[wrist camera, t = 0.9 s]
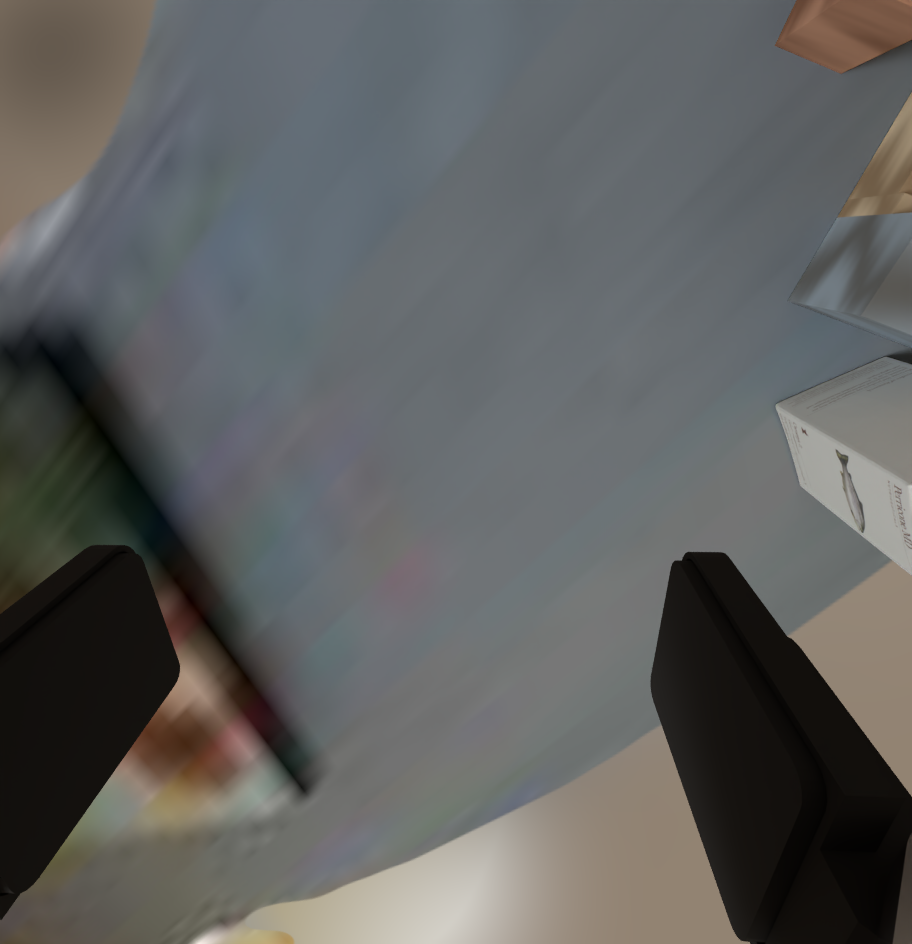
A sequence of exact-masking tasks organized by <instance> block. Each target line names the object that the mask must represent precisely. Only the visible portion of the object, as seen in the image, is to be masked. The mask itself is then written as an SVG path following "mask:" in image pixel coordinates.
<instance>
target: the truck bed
mask: <svg viewBox="0 0 912 944" xmlns="http://www.w3.org/2000/svg"><path fill="white" fill-rule="evenodd" d="M788 301H789V302H792V303H794V304H797V305H800V306H802V307H805V308H808V309H810V310H813V311H815V312H818V313H821V314H823V315H826V316H829V317H831V318H834V319H836V320H839V321H842V322H844V323H847V324H850V325H852V326H855V327H858V328H860V329H863V330H865V331H868V332H871V333H873V334H876V335H879V336H881V337H884V338H886V339H889V340H892V341H894V342H897V343H900V344H902V345H905V346H907V347H910V348H912V93H911V94H910V96H909V98H908V99H907V101H906V103H905V104H904V106H903V108H902V109H901V111H900V113H899V114H898V116H897V118H896V119H895V121H894V123H893V124H892V126H891V128H890V130H889V131H888V133H887V135H886V136H885V138H884V140H883V141H882V143H881V145H880V146H879V148H878V150H877V151H876V153H875V155H874V156H873V158H872V160H871V161H870V163H869V165H868V167H867V168H866V170H865V172H864V173H863V175H862V177H861V178H860V180H859V182H858V183H857V185H856V187H855V188H854V190H853V192H852V193H851V195H850V197H849V198H848V200H847V202H846V204H845V205H844V207H843V209H842V210H841V212H840V214H839V215H838V217H837V219H836V220H835V222H834V224H833V225H832V227H831V229H830V230H829V232H828V234H827V235H826V237H825V239H824V241H823V242H822V244H821V246H820V247H819V249H818V251H817V252H816V254H815V256H814V257H813V259H812V261H811V262H810V264H809V266H808V267H807V269H806V271H805V272H804V274H803V276H802V278H801V279H800V281H799V283H798V284H797V286H796V288H795V289H794V291H793V293H792V294H791V296H790V298H789V299H788Z"/></svg>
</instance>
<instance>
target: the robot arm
mask: <svg viewBox="0 0 912 944" xmlns="http://www.w3.org/2000/svg"><path fill="white" fill-rule="evenodd" d="M179 673H180V664H179V660H178V658H177V655H176V652H175V649H174V646H173V643H172V641H171V638H170V635H169V632H168V629H167V627H166V624H165V621H164V618H163V615H162V612H161V610H160V607H159V604H158V601H157V598H156V596H155V593H154V590H153V587H152V584H151V581H150V579H149V576H148V573H147V570H146V567H145V564H144V562H143V560H142V558H141V557H140V556H139V555H138V554H135V552H134V550H133V549H132V548H130V547H129V546H125V545H93V546H90V547H88V548H86V549H84V550H83V551H82V552H81V553H79V554H78V555H77V556H75V557H74V558H73V559H71V560H70V561H69V562H68V563H66V564H65V565H64V566H62V567H61V568H60V569H58V570H57V571H56V572H55V573H53V574H52V575H51V576H49V577H48V578H47V579H45V580H44V581H43V582H42V583H40V584H39V585H38V586H36V587H35V588H34V589H32V590H31V591H30V592H29V593H27V594H26V595H25V596H23V597H22V598H21V599H19V600H18V601H17V602H16V603H14V604H13V605H12V606H10V607H9V608H8V609H6V610H5V611H4V612H3V613H1V614H0V920H2V918H3V917H4V916H5V914H6V913H7V911H8V910H9V909H10V907H11V906H12V904H13V903H14V902H15V900H16V899H17V897H18V896H19V895H20V893H22V892H24V891H26V890H27V889H29V888H30V887H31V886H32V885H33V884H34V883H35V882H36V881H37V879H38V878H39V877H40V875H41V874H42V873H43V871H44V870H45V868H46V867H47V866H48V864H49V863H50V861H51V860H52V858H53V857H54V856H55V854H56V853H57V851H58V850H59V849H60V847H61V846H62V844H63V843H64V841H65V840H66V839H67V837H68V836H69V834H70V833H71V832H72V830H73V829H74V827H75V826H76V824H77V823H78V822H79V820H80V819H81V817H82V816H83V815H84V813H85V812H86V810H87V809H88V808H89V806H90V805H91V803H92V802H93V800H94V799H95V798H96V796H97V795H98V793H99V792H100V791H101V789H102V788H103V786H104V785H105V783H106V782H107V781H108V779H109V778H110V776H111V775H112V774H113V772H114V771H115V769H116V768H117V766H118V765H119V764H120V762H121V761H122V759H123V758H124V757H125V755H126V754H127V752H128V751H129V749H130V748H131V747H132V745H133V744H134V742H135V741H136V740H137V738H138V737H139V735H140V734H141V732H142V731H143V730H144V728H145V727H146V725H147V724H148V723H149V721H150V720H151V718H152V717H153V715H154V714H155V713H156V711H157V710H158V708H159V707H160V706H161V704H162V703H163V701H164V700H165V698H166V697H167V696H168V694H169V693H170V691H171V690H172V689H173V687H174V686H175V684H176V682H177V680H178V677H179ZM651 693H652V698H653V701H654V704H655V707H656V710H657V713H658V716H659V718H660V721H661V724H662V727H663V730H664V733H665V736H666V739H667V742H668V744H669V747H670V750H671V753H672V756H673V759H674V762H675V764H676V768H677V770H678V773H679V776H680V779H681V782H682V785H683V788H684V791H685V793H686V796H687V799H688V802H689V805H690V808H691V811H692V814H693V817H694V820H695V822H696V825H697V828H698V831H699V834H700V837H701V840H702V842H703V845H704V848H705V851H706V854H707V857H708V860H709V863H710V866H711V869H712V871H713V874H714V877H715V880H716V883H717V886H718V889H719V891H720V894H721V897H722V900H723V903H724V906H725V909H726V912H727V915H728V917H729V920H730V923H731V926H732V928H733V930H734V932H735V934H736V935H737V937H738V938H739V939H740V940H741V941H748V942H750V944H912V797H911V795H910V794H909V793H908V791H907V790H906V788H905V787H904V786H903V785H902V783H901V782H900V781H899V779H898V778H897V776H896V775H895V774H894V773H893V771H892V770H891V768H890V767H889V766H888V764H887V763H886V762H885V760H884V759H883V758H882V756H881V755H880V754H879V752H878V751H877V750H876V748H875V747H874V746H873V745H872V743H871V742H870V740H869V739H868V738H867V736H866V735H865V734H864V732H863V731H862V730H861V728H860V727H859V726H858V724H857V723H856V722H855V720H854V719H853V718H852V716H851V715H850V714H849V712H848V711H847V710H846V708H845V707H844V706H843V704H842V703H841V702H840V700H839V699H838V698H837V696H836V695H835V694H834V692H833V691H832V690H831V688H830V687H829V686H828V684H827V683H826V682H825V680H824V679H823V677H822V676H821V675H820V674H819V672H818V671H817V669H816V668H815V667H814V665H813V664H812V663H811V662H810V660H809V659H808V657H807V656H806V655H805V653H804V652H803V651H802V649H801V648H800V647H799V646H798V645H797V644H796V643H795V642H794V641H793V640H792V639H791V638H789V637H787V636H786V634H785V633H784V632H783V630H782V629H781V627H780V626H779V625H778V623H777V622H776V621H775V619H774V618H773V617H772V615H771V614H770V613H769V611H768V610H767V608H766V607H765V606H764V604H763V603H762V602H761V600H760V599H759V598H758V596H757V595H756V594H755V592H754V591H753V589H752V588H751V587H750V585H749V584H748V583H747V581H746V580H745V579H744V577H743V576H742V574H741V573H740V572H739V570H738V569H737V568H736V566H735V565H734V564H733V562H732V561H731V560H730V558H729V557H728V556H727V555H726V554H725V553H722V552H687V553H685V555H684V556H683V559H682V561H674V562H673V564H672V566H671V571H670V576H669V582H668V587H667V592H666V598H665V603H664V609H663V614H662V619H661V625H660V630H659V636H658V641H657V647H656V652H655V657H654V663H653V668H652V674H651Z"/></svg>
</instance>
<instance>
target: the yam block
mask: <svg viewBox="0 0 912 944" xmlns="http://www.w3.org/2000/svg"><path fill="white" fill-rule="evenodd" d="M910 40H912V0H797V1H796V3H795V5H794V7H793V9H792V11H791V13H790V15H789V17H788V19H787V21H786V23H785V25H784V28H783V30H782V32H781V34H780V36H779V38H778V40H777V42H776V44H775V46H777V47H779V48H782V49H784V50H786V51H789V52H791V53H793V54H796V55H798V56H800V57H803V58H805V59H808V60H810V61H812V62H815V63H817V64H819V65H822V66H824V67H826V68H829V69H831V70H834V71H836V72H838V73H844V72H846V71H848V70H850V69H852V68H854V67H856V66H858V65H860V64H862V63H864V62H866V61H868V60H871V59H873V58H875V57H877V56H879V55H881V54H883V53H885V52H887V51H889V50H891V49H893V48H896V47H898V46H900V45H902V44H904V43H906V42H908V41H910Z"/></svg>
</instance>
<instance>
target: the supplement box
mask: <svg viewBox="0 0 912 944" xmlns="http://www.w3.org/2000/svg"><path fill="white" fill-rule="evenodd" d="M776 410H777V412H778V415H779V417H780V420H781V423H782V425H783V428H784V431H785V434H786V437H787V440H788V443H789V447H790V450H791V453H792V457H793V460H794V464H795V467H796V471H797V475H798V479H799V483H800V486H801V487H802V488H804V489H805V490H806V491H807V492H809V493H810V494H811V495H812V496H813V497H815V498H816V499H817V500H818V501H819V502H821V503H822V504H823V505H824V506H826V507H827V508H828V509H829V510H831V511H832V512H833V513H834V514H835V515H837V516H838V517H839V518H840V519H842V520H843V521H844V522H845V523H847V524H848V525H849V526H850V527H852V528H853V529H854V530H855V531H857V532H858V533H859V534H860V535H862V536H863V537H864V538H865V539H867V540H868V541H869V542H870V543H872V544H873V545H874V546H875V547H877V548H878V549H879V550H880V551H882V552H883V553H884V554H885V555H887V556H888V557H889V558H891V559H892V560H893V561H894V562H895V563H897V564H898V565H899V566H900V567H902V568H903V569H904V570H905V571H907V572H908V573H909V574H910V575H911V576H912V364H909V363H906V362H902V361H899V360H896V359H892V358H889V357H883V358H881V359H878V360H876V361H873V362H871V363H869V364H866V365H864V366H862V367H859V368H857V369H855V370H852V371H850V372H848V373H845V374H843V375H841V376H838V377H836V378H834V379H832V380H829V381H827V382H824V383H822V384H820V385H818V386H815V387H813V388H811V389H808V390H806V391H804V392H801V393H799V394H797V395H795V396H792V397H790V398H788V399H785V400H783V401H781V402H779V403H777V404H776Z"/></svg>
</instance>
